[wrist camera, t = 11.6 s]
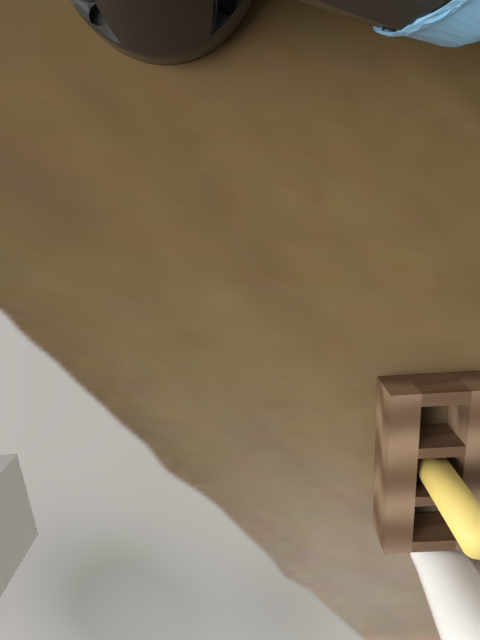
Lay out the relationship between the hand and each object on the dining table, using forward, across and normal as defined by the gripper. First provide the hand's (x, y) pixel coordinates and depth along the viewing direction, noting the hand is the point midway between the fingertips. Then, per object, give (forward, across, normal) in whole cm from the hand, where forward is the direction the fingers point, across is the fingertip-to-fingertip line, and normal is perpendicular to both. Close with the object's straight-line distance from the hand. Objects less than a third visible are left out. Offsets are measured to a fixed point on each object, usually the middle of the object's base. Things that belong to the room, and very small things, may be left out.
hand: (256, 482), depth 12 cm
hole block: (+29, +17, -20) cm, 39 cm away
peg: (+29, +17, -20) cm, 39 cm away
